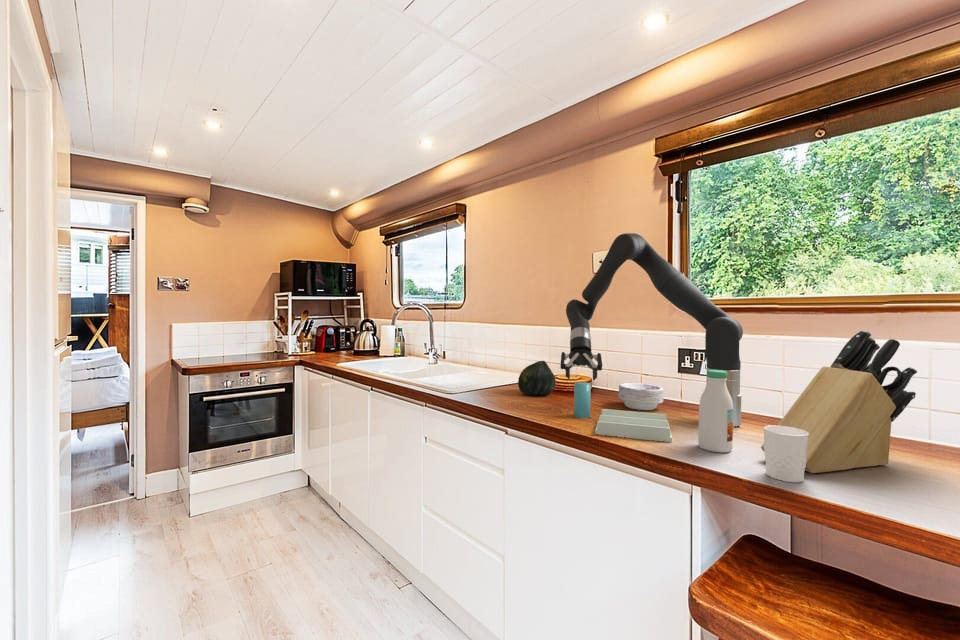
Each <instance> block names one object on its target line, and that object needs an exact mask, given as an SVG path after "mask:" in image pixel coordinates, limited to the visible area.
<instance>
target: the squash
mask: <svg viewBox="0 0 960 640" xmlns="http://www.w3.org/2000/svg"><path fill="white" fill-rule="evenodd" d="M517 383H518V384H517V385H518V389H519V391H520V392H521V393H522V395H523V394H524V395H526V396H533V395H535V396H537V395H539V396H542V397H547V396H549V395H550V394H552V392H553V391H554V390H555V387H556V377H555V374H554V373H553V371H552V370H551V368H550V366H549V365H548V363H547V362H546V361H545V360H539V361H535V362H534V363H532V364H529V365H527V366H526V367H524V369H523V370H522V371H521V372H520V373H519V375H518V381H517Z"/></svg>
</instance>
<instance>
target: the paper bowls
mask: <svg viewBox="0 0 960 640" xmlns="http://www.w3.org/2000/svg"><path fill="white" fill-rule="evenodd" d="M618 398H619V399H620V400H622V401H623V403H624V405H625V407H626V408H629V409H632V410H635V409H636V411H653V410H656V408H657V406H658V405H659V404H662V403H664V388H663V386H659V385H654V384H649V383H647V384H646V383H639V382H638V383H637V382H636V383H635V382H634V383H633V382H630V383H629V382H627V383H626V382H625V383H621V384H619V385H618Z"/></svg>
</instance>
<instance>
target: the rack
mask: <svg viewBox="0 0 960 640" xmlns="http://www.w3.org/2000/svg"><path fill="white" fill-rule="evenodd" d="M669 422H670V421H669V420H668V414H666V413H656V412H655V413H653V412H644V411H643V412H642V411H634V410H633V411H630V410H619V409H609V408H608V409H607V408H606V409H605V408H602V409H601V414H599V419H598V420H597V421H596V428H595V429H594V435H596V434H599V435H598V436H605V435H607V437H615V436H617V438H624V437H626V439H635V440H646V441H653V440H654V441H655V442H656V441H657V442H663V441H664V442H666V443H673V436H672V431H671V428H670V427H671V426H670V425H669V424H670V423H669Z"/></svg>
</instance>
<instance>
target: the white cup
mask: <svg viewBox="0 0 960 640" xmlns="http://www.w3.org/2000/svg"><path fill="white" fill-rule="evenodd" d="M808 438H809V433H808V432H806V431H804V430H801V429H797V428H793V427H786V426H777V425H773V424H772V425H765V426H763V444H764V450H765V453H764V460H765V474H766V475H767V476H768V477H769V476H770V478H772V479H774V478H775V480H777V479H778V480H777V481H781V480H782V482H785V483H795V482H796V483H802V482H804V480H805V468H806V461H807V449H808Z"/></svg>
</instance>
